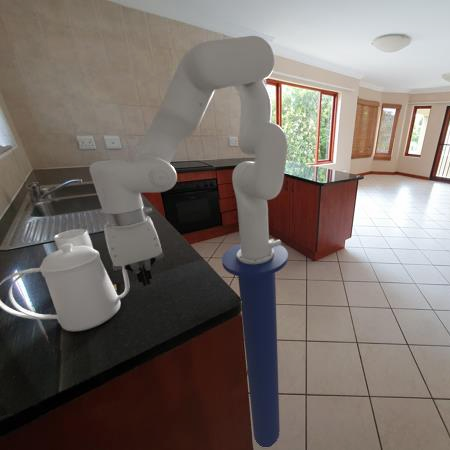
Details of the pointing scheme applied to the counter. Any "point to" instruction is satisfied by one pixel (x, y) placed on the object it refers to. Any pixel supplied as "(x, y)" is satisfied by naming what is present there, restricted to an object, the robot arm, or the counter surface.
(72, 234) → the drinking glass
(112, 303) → the coffeepot
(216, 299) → the counter surface
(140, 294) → the counter surface
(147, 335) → the counter surface
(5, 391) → the counter surface
